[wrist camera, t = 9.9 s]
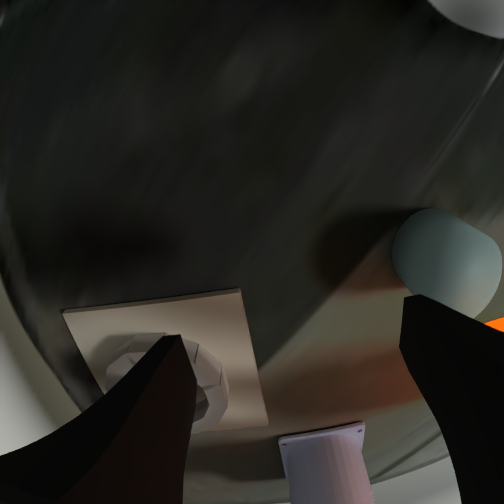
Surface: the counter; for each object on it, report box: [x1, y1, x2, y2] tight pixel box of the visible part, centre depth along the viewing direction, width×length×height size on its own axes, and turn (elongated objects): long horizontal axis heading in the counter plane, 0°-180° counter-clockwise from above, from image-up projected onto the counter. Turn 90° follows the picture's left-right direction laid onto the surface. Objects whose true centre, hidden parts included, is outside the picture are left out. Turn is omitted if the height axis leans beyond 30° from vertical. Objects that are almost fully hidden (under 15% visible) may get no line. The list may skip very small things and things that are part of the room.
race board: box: [62, 288, 269, 434], centre depth 21 cm, size 13×13×3 cm
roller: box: [392, 208, 502, 318], centre depth 16 cm, size 6×6×5 cm
